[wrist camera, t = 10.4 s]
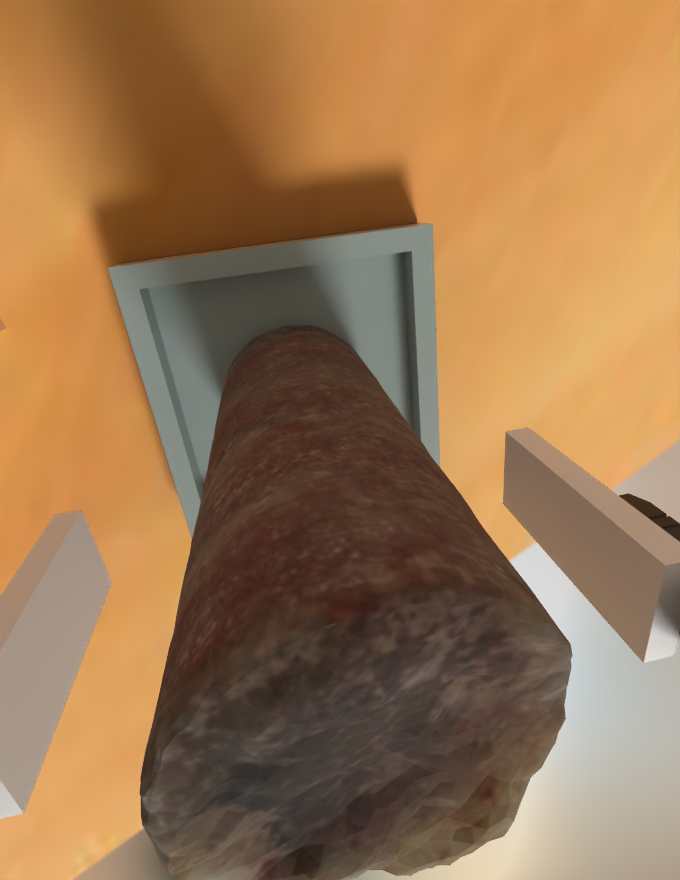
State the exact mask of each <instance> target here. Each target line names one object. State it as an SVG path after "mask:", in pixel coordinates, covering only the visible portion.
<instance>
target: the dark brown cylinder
mask: <svg viewBox="0 0 680 880" xmlns="http://www.w3.org/2000/svg"><path fill="white" fill-rule="evenodd" d="M571 658H572V651H571V645H570V643H569V641H568V640H567V639H566V637H565V636H564V635H563V633H562V632H561V631H560V629H559V628H558V627H557V625H556V624H555V622H554V621H553V620H552V618H551V617H550V616H549V614H548V613H547V611H546V610H545V608H544V607H543V606H542V604H541V603H540V602H539V600H538V599H537V597H536V596H535V595H534V593H533V592H532V591H531V589H530V588H529V586H528V585H527V584H526V582H525V581H524V580H523V579H522V577H521V576H520V575H519V574H518V572H517V571H516V570H515V569H514V567H513V566H512V565H511V563H510V562H509V561H508V559H507V558H506V557H505V556H504V554H503V553H502V552H501V550H500V549H499V548H498V547H497V545H496V544H495V543H494V541H493V540H492V539H491V537H490V536H489V535H488V534H487V532H486V531H485V530H484V528H483V527H482V525H481V524H480V523H479V521H478V520H477V518H476V517H475V515H474V514H473V512H472V510H471V509H470V507H469V506H468V504H467V503H466V501H465V500H464V498H463V497H462V496H461V494H460V493H459V492H458V490H457V489H456V488H455V486H454V485H453V484H452V483H451V481H450V480H449V479H448V477H447V476H446V475H445V474H444V472H443V471H442V470H441V468H440V467H439V466H438V464H437V463H436V462H435V460H434V459H433V458H432V457H431V455H430V454H429V452H428V451H427V449H426V447H425V446H424V444H423V443H422V442H421V440H420V439H419V437H418V436H417V435H416V433H415V432H414V430H413V429H412V428H411V426H410V425H409V423H408V422H407V421H406V420H405V418H404V417H403V416H402V414H401V413H400V411H399V410H398V408H397V407H396V406H395V405H394V403H393V402H392V400H391V399H390V398H389V396H388V395H387V393H386V392H385V391H384V389H383V388H382V386H381V385H380V383H379V382H378V380H377V378H376V377H375V376H374V375H373V373H372V372H371V371H370V369H369V368H368V367H367V366H366V364H365V363H364V361H363V360H362V359H361V358H360V356H359V355H358V354H357V352H356V351H355V350H354V349H353V348H352V346H351V345H349V344H348V343H347V342H345V341H344V340H343V339H341V338H340V337H338V336H337V335H336V334H334V333H332V332H330V331H328V330H325V329H323V328H319V327H316V326H312V325H298V324H296V325H293V326H282V327H279V328H276V329H273V330H270V331H267V332H265V333H262V334H260V335H258V336H256V337H255V338H254V339H252V340H251V341H250V342H249V343H248V344H247V345H246V346H245V347H244V348H243V349H242V350H241V351H240V352H239V353H238V354H237V356H236V357H235V359H234V360H233V362H232V363H231V365H230V368H229V370H228V373H227V376H226V380H225V383H224V387H223V392H222V396H221V401H220V406H219V410H218V416H217V421H216V425H215V432H214V438H213V442H212V447H211V452H210V457H209V463H208V469H207V473H206V479H205V485H204V488H203V492H202V498H201V503H200V508H199V512H198V516H197V521H196V525H195V529H194V533H193V537H192V543H191V550H190V555H189V559H188V563H187V567H186V571H185V576H184V580H183V585H182V590H181V595H180V600H179V605H178V611H177V616H176V622H175V629H174V633H173V637H172V640H171V644H170V647H169V651H168V656H167V661H166V665H165V670H164V674H163V679H162V684H161V688H160V693H159V697H158V702H157V706H156V711H155V715H154V720H153V724H152V728H151V731H150V735H149V739H148V743H147V747H146V751H145V757H144V762H143V767H142V773H141V785H140V796H141V819H142V825H143V827H144V828H145V830H146V832H147V834H148V835H149V837H150V839H151V841H152V842H153V844H154V847H155V850H156V852H157V855H158V858H159V860H160V863H161V865H162V867H163V868H164V869H165V870H166V871H167V872H168V873H170V874H172V875H174V876H175V877H176V878H177V879H178V880H347V879H352V878H356V877H358V876H359V875H361V874H362V873H364V872H365V871H367V870H384V871H386V872H389V873H391V874H394V875H396V876H397V875H399V876H401V875H409V876H411V875H413V874H414V873H416V872H418V871H421V870H423V869H426V868H433V867H435V866H437V865H451V864H452V863H453V862H455V861H456V860H457V859H459V858H460V857H462V856H465V855H468V854H470V853H472V852H474V851H475V850H477V849H478V848H479V847H481V846H482V845H484V844H485V843H487V842H488V841H491V840H494V839H497V838H500V837H503V836H504V835H505V834H506V833H507V831H508V830H509V828H510V827H511V825H512V823H513V822H514V820H515V817H516V814H517V811H518V809H519V805H520V803H521V801H522V798H523V796H524V793H525V791H526V788H527V785H528V783H529V781H530V778H531V777H532V776H533V775H534V774H535V773H536V772H537V771H538V770H539V769H540V768H541V767H542V766H543V764H544V762H545V760H546V758H547V756H548V754H549V752H550V750H551V749H552V747H553V746H554V744H555V742H556V738H557V735H558V732H559V730H560V728H561V727H562V725H563V723H564V720H565V719H566V718H565V708H564V703H565V697H566V688H567V685H568V681H569V676H570V671H571Z"/></svg>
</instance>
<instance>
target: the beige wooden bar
mask: <svg viewBox="0 0 680 880" xmlns="http://www.w3.org/2000/svg"><path fill="white" fill-rule="evenodd" d="M3 329H5V326H4V324H3V322H2V321H1V319H0V331H1V330H3Z"/></svg>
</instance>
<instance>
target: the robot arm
mask: <svg viewBox="0 0 680 880" xmlns="http://www.w3.org/2000/svg"><path fill="white" fill-rule="evenodd" d="M503 504H504V505H505V506H506V508H507V509H508V510H509V511H510V512H511V513H512V514H513V516H514V517H515V518H516V519H517V520H518V521H519V522H520V523H521V525H522V526H523V527H524V528H525V529H526V530H527V531H528V533H529V534H530V535H531V536H532V537H533V538H534V539H535V540H536V542H537V543H538V544H539V545H540V546H541V547H542V548H543V550H544V551H545V552H546V553H547V554H548V555H549V556H550V557H551V559H552V560H553V561H554V562H555V563H556V564H557V565H558V567H560V568H561V570H562V571H563V572H564V573H565V574H566V576H567V577H568V578H569V579H570V580H571V581H572V582H573V583H574V585H575V586H576V587H577V588H578V589H579V590H580V591H581V592H582V593H583V595H584V596H585V597H586V598H587V599H588V601H589V602H590V603H591V604H592V605H593V606H594V607H595V608H596V610H598V612H599V613H600V614H601V615H602V616H603V617H604V619H605V620H606V621H607V622H608V623H609V624H610V625H611V627H612V628H613V629H614V630H615V631H616V632H617V633H618V634H619V636H620V637H621V638H622V639H623V640H624V641H625V642H626V644H627V645H628V646H629V647H630V648H631V649H632V650H633V652H634V653H635V654H636V655H637V656H638V657H639V658H640V659H641V661H642V662H643V663H646V662H650V661H654V660H657V659H662V658H666V657H670V656H674V655H675V654H676V650H677V646H678V642H679V639H680V524H679V523H678V522H677V521H675V520H674V519H673V518H671V517H670V516H668V517H667V516H666V513H664V512H663V511H661V510H660V509H659V508H657V507H656V506H654V505H653V504H652V503H650V502H648V501H645V500H643V499H641V498H638V497H636V496H633V495H631V494H625V495H620V496H618V495H617V494H616V493H614V492H613V491H612V490H610V489H609V488H608V487H606V486H605V485H604V484H602V483H601V482H600V481H598V480H597V479H596V478H594V477H593V476H592V475H590V474H589V473H588V472H587V471H585V470H584V469H583V468H581V467H580V466H579V465H577V464H576V463H575V462H573V461H572V460H571V459H569V458H568V457H567V456H565V455H564V454H563V453H561V452H560V451H559V450H557V449H556V448H555V447H553V446H552V445H551V444H549V443H548V442H547V441H546V440H544V439H543V438H542V437H540V436H539V435H538V434H536V433H535V432H534V431H532V430H531V429H530V428H523V429H517V430H512V431H506V438H505V467H504V495H503ZM111 583H112V582H111V579H110V577H109V574H108V572H107V570H106V567H105V565H104V563H103V560H102V558H101V555H100V553H99V551H98V548H97V546H96V543H95V541H94V539H93V536H92V534H91V531H90V529H89V527H88V524H87V522H86V520H85V517H84V515H83V512H82V510H79V511H73V512H68V513H62V514H57V515H54V516H53V518H52V519H51V521H50V522H49V524H48V525H47V527H46V528H45V530H44V531H43V533H42V534H41V536H40V537H39V539H38V540H37V542H36V543H35V545H34V547H33V548H32V550H31V551H30V553H29V554H28V556H27V557H26V559H25V560H24V562H23V563H22V565H21V566H20V568H19V569H18V571H17V572H16V574H15V575H14V577H13V578H12V580H11V581H10V583H9V584H8V586H7V587H6V589H5V590H4V592H3V594H2V595H1V597H0V819H3V818H7V817H11V816H15V815H19V814H23V813H24V812H25V809H26V806H27V804H28V801H29V798H30V796H31V793H32V791H33V788H34V785H35V783H36V780H37V777H38V775H39V772H40V770H41V767H42V764H43V762H44V759H45V756H46V754H47V751H48V749H49V746H50V743H51V741H52V738H53V735H54V733H55V730H56V728H57V725H58V722H59V720H60V717H61V714H62V712H63V709H64V706H65V704H66V701H67V699H68V696H69V693H70V691H71V688H72V685H73V683H74V680H75V678H76V675H77V672H78V670H79V667H80V664H81V662H82V659H83V657H84V654H85V651H86V649H87V646H88V643H89V641H90V638H91V636H92V633H93V630H94V628H95V625H96V622H97V620H98V617H99V615H100V612H101V609H102V607H103V604H104V601H105V599H106V596H107V593H108V591H109V588H110V586H111Z"/></svg>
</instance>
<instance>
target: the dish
mask: <svg viewBox="0 0 680 880" xmlns="http://www.w3.org/2000/svg"><path fill="white" fill-rule="evenodd" d="M108 271H109V274H110V277H111V280H112V284H113V287H114V290H115V293H116V296H117V300H118V303H119V306H120V309H121V313H122V316H123V319H124V322H125V325H126V329H127V332H128V335H129V338H130V342H131V345H132V348H133V351H134V354H135V358H136V361H137V364H138V367H139V370H140V374H141V377H142V380H143V383H144V387H145V390H146V393H147V396H148V399H149V403H150V406H151V409H152V412H153V416H154V419H155V422H156V425H157V428H158V432H159V435H160V438H161V441H162V445H163V448H164V451H165V454H166V457H167V461H168V464H169V467H170V470H171V473H172V477H173V480H174V483H175V486H176V490H177V493H178V496H179V499H180V502H181V506H182V509H183V512H184V515H185V519H186V522H187V525H188V528H189V531H190V535H191V538H192V537H193V533H194V529H195V525H196V521H197V516H198V512H199V508H200V503H201V498H202V492H203V488H204V485H205V479H206V473H207V469H208V463H209V457H210V452H211V447H212V442H213V438H214V432H215V425H216V421H217V416H218V410H219V406H220V401H221V396H222V392H223V387H224V383H225V380H226V376H227V373H228V370H229V368H230V365H231V363H232V362H233V360H234V359H235V357H236V356H237V354H238V353H239V352H240V351H241V350H242V349H243V348H244V347H245V346H246V345H247V344H248V343H249V342H250V341H251V340H252V339H254V338H255V337H256V336H258V335H260V334H262V333H265V332H267V331H270V330H273V329H276V328H279V327H282V326H293V325H296V324H298V325H312V326H316V327H319V328H323V329H325V330H328V331H330V332H332V333H334V334H336V335H337V336H338V337H340V338H341V339H343V340H344V341H345V342H347V343H348V344H349V345H351V346H352V348H353V349H354V350H355V351H356V352H357V354H358V355H359V356H360V358H361V359H362V360H363V361H364V363H365V364H366V366H367V367H368V368H369V369H370V371H371V372H372V373H373V375H374V376H375V377H376V378H377V380H378V382H379V383H380V385H381V386H382V388H383V389H384V391H385V392H386V393H387V395H388V396H389V398H390V399H391V400H392V402H393V403H394V405H395V406H396V407H397V408H398V410H399V411H400V413H401V414H402V416H403V417H404V418H405V420H406V421H407V422H408V423H409V425H410V426H411V428H412V429H413V430H414V432H415V433H416V435H417V436H418V437H419V439H420V440H421V442H422V443H423V444H424V446H425V447H426V449H427V451H428V452H429V454H430V455H431V457H432V458H433V459H434V460H435V462H436V463H437V464H438V466H439V467H440V448H439V415H438V382H437V349H436V316H435V283H434V249H433V224H429V223H414V224H406V225H399V226H392V227H384V228H377V229H369V230H362V231H355V232H347V233H340V234H332V235H325V236H318V237H310V238H303V239H296V240H288V241H281V242H273V243H266V244H259V245H251V246H244V247H236V248H229V249H222V250H214V251H207V252H200V253H192V254H185V255H177V256H170V257H163V258H155V259H148V260H140V261H133V262H126V263H120V264H117V265H114V266H112V267H109V268H108Z"/></svg>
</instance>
